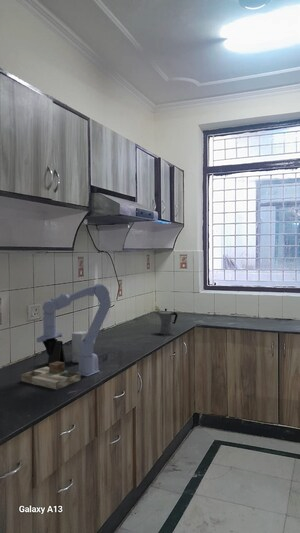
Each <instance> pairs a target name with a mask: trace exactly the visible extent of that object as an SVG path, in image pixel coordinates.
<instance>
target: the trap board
mask: <svg viewBox="0 0 300 533" xmlns="http://www.w3.org/2000/svg"><path fill="white" fill-rule="evenodd" d="M81 376H82V375H80V373H77V372H73V371H70V370H65V371H64V372H61V373H58V374H55V373H50V372H49V366H43V367H40V368H38V369H34V370H31V371H28V372H24V373H22V374H21V375H20V377H21V378H20V379H21V382H22V383H23V382H24V383H27V384H32V385H35V386H40V387H44V388H49V389H53V390H60V389H61V388H64V387H67V386H70V385H72V384H74V383H76V382H79V381H81V378H82V377H81Z"/></svg>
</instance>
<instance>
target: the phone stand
mask: <svg viewBox="0 0 300 533" xmlns="http://www.w3.org/2000/svg"><path fill="white" fill-rule="evenodd" d="M56 361H58V362H63V363H65V362H66V356H65V352H64V341H63V340H57V343H56V344H55V347H54V350H53V355H48V358H47V366H49V364H50V363H53V362H56Z"/></svg>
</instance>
